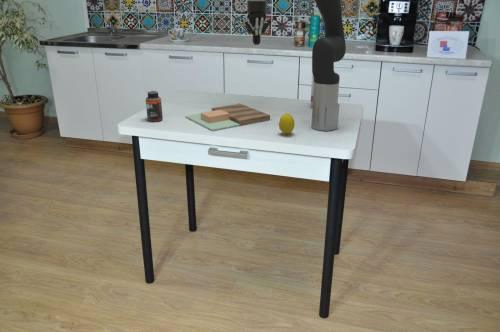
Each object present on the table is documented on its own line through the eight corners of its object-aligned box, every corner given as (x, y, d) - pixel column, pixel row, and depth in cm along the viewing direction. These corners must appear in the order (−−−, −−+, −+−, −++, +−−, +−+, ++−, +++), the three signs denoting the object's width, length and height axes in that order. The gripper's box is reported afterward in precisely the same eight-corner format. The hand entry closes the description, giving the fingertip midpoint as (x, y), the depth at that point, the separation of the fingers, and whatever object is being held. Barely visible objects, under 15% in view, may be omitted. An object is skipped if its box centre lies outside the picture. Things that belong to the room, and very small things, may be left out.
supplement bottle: (161, 117, 190) (159, 89, 186) (163, 121, 185) (161, 93, 181) (146, 118, 189) (144, 90, 184) (148, 122, 183) (146, 94, 179)
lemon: (293, 132, 173) (293, 111, 170) (294, 137, 168) (295, 115, 165) (278, 132, 173) (278, 111, 170) (279, 137, 168) (280, 115, 165)
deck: (270, 120, 187) (270, 115, 187) (240, 125, 180) (240, 120, 179) (239, 107, 204) (239, 103, 204) (211, 112, 197) (211, 108, 196)
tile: (229, 119, 185) (229, 113, 185) (209, 123, 181) (209, 117, 180) (220, 115, 191) (220, 109, 190) (200, 119, 186) (200, 112, 185)
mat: (239, 125, 180) (239, 124, 180) (212, 131, 174) (212, 129, 173) (211, 112, 197) (211, 111, 197) (185, 117, 191) (185, 115, 190)
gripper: (248, 0, 180) (248, 46, 187) (276, -1, 187) (275, 44, 193) (237, -1, 186) (237, 44, 192) (264, -2, 193) (264, 42, 199)
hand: (256, 44), depth 193 cm, fingers closed
